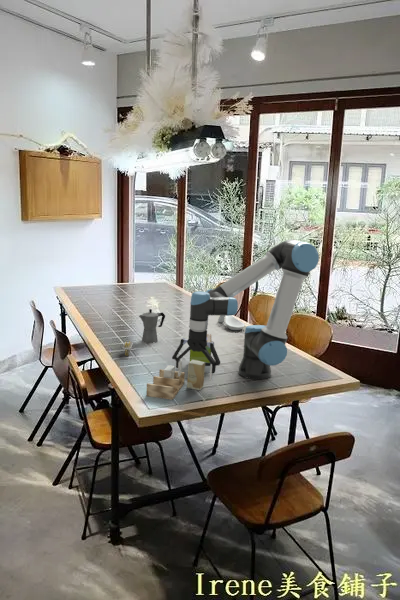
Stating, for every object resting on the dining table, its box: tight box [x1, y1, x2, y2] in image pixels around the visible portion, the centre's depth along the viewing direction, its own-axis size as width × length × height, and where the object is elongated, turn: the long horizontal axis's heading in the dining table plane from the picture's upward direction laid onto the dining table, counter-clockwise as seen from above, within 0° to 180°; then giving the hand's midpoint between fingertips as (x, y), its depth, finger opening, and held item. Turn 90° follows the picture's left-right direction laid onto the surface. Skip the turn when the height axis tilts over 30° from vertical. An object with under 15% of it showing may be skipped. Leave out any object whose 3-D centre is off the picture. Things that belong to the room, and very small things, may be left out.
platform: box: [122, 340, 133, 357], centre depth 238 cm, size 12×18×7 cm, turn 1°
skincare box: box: [186, 360, 206, 391], centre depth 198 cm, size 6×4×12 cm
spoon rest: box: [217, 315, 246, 332], centre depth 296 cm, size 24×12×7 cm, turn 28°
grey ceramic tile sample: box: [163, 364, 176, 379], centre depth 198 cm, size 3×6×8 cm, turn 167°
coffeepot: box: [138, 309, 166, 344], centre depth 259 cm, size 15×9×18 cm, turn 118°
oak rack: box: [146, 369, 186, 401], centre depth 194 cm, size 11×17×6 cm, turn 167°
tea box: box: [189, 333, 213, 374], centre depth 223 cm, size 15×10×15 cm, turn 178°
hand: (194, 377), depth 198 cm, fingers open, 13 cm apart
